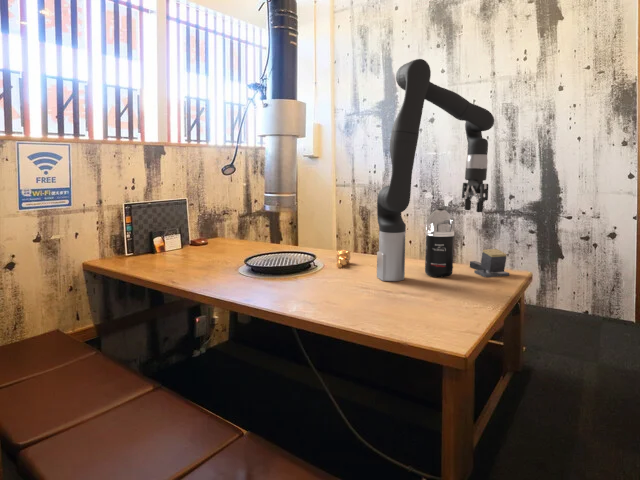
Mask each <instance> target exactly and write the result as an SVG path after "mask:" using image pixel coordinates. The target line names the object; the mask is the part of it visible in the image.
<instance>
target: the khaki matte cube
mask: <svg viewBox="0 0 640 480" xmlns="http://www.w3.org/2000/svg"><path fill="white" fill-rule="evenodd" d="M507 257H508V254H507V253H506V252H504V251H502V250H500V249H498V248H493V249H492V248H490V249H489V248H488V249H482V253H481V260H480V263H481V266H480V267H482V268H483V269H485V270H486V271H488V272H489V273H490V272H504V271H505V268H506V262H507V261H506V260H507Z"/></svg>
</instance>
